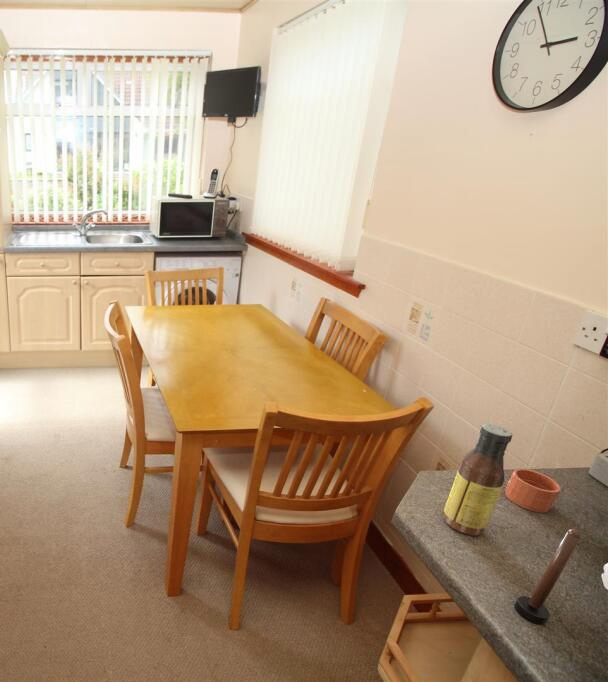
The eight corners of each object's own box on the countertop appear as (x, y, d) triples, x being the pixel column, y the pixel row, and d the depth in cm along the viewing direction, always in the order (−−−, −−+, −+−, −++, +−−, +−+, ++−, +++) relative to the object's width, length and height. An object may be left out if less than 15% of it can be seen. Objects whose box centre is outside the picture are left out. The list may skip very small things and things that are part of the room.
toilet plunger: (529, 601, 71) (574, 519, 65) (552, 624, 68) (602, 539, 62) (507, 603, 71) (551, 520, 65) (530, 625, 67) (578, 541, 61)
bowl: (525, 488, 96) (535, 467, 94) (560, 512, 90) (571, 491, 88) (494, 489, 96) (504, 468, 94) (527, 514, 89) (538, 492, 87)
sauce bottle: (490, 532, 84) (535, 438, 77) (468, 541, 82) (511, 445, 74) (453, 508, 90) (491, 417, 82) (431, 515, 88) (468, 423, 80)
